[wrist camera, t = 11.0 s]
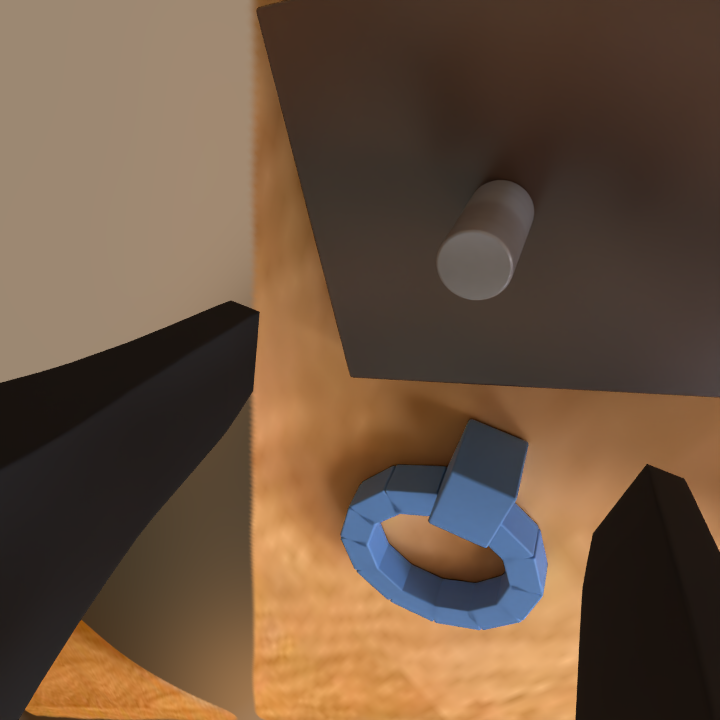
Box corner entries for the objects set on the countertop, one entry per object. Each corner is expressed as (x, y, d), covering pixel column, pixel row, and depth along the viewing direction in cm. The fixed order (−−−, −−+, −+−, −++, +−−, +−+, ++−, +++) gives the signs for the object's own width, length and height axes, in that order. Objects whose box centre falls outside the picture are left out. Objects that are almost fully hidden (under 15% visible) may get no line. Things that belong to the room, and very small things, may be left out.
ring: (503, 623, 29) (492, 681, 27) (340, 547, 31) (317, 596, 29) (615, 477, 22) (612, 541, 19) (391, 384, 23) (364, 433, 21)
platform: (723, 369, 18) (744, 487, 14) (364, 355, 23) (309, 440, 19) (796, -128, 12) (871, -154, 8) (280, 2, 17) (174, 24, 13)
